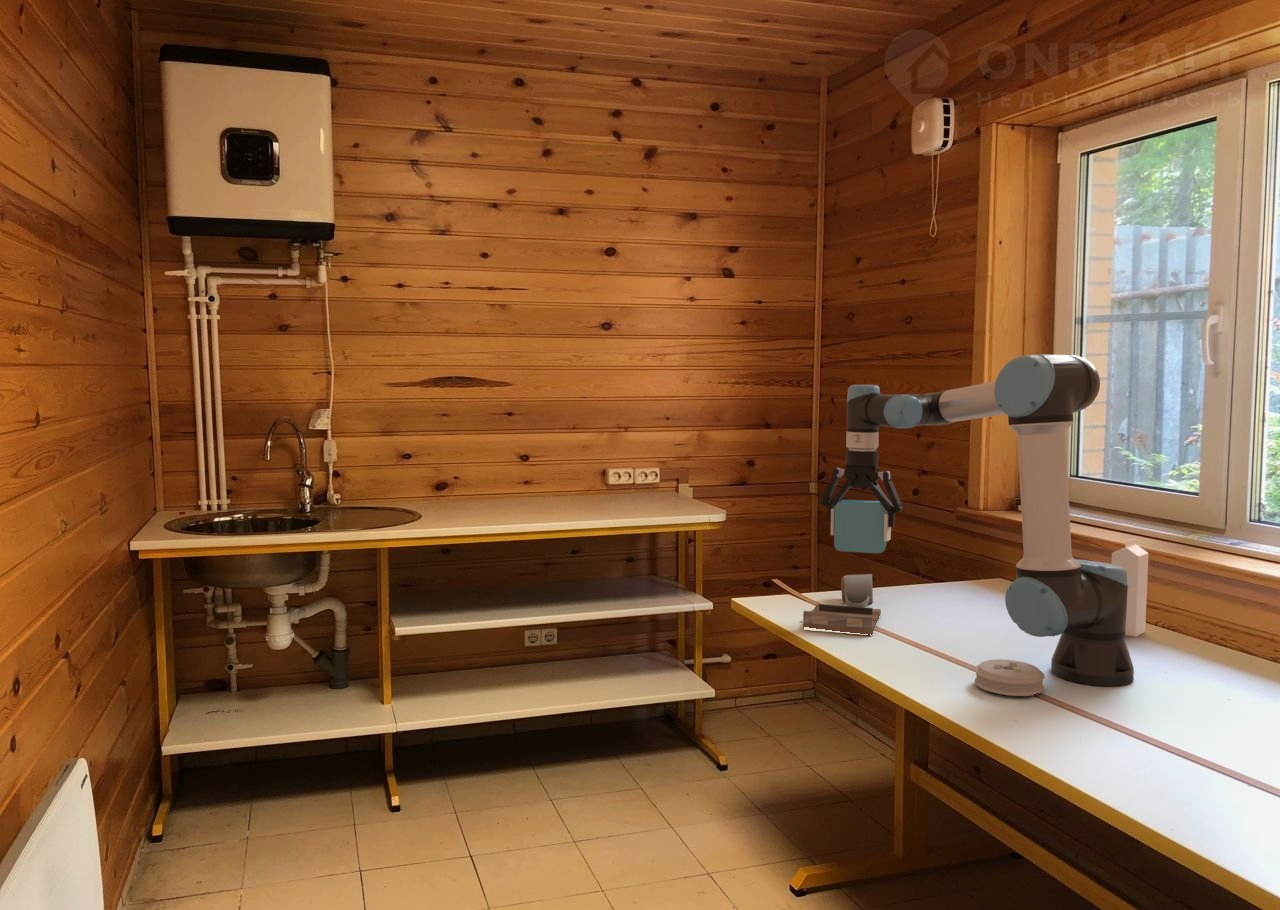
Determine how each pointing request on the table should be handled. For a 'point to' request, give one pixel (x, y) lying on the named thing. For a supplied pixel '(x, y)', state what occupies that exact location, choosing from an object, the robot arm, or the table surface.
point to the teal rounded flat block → (859, 526)
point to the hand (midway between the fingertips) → (860, 537)
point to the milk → (1134, 585)
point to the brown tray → (842, 618)
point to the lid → (1009, 677)
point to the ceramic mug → (857, 590)
